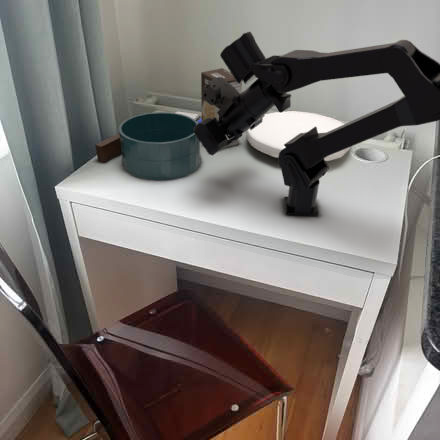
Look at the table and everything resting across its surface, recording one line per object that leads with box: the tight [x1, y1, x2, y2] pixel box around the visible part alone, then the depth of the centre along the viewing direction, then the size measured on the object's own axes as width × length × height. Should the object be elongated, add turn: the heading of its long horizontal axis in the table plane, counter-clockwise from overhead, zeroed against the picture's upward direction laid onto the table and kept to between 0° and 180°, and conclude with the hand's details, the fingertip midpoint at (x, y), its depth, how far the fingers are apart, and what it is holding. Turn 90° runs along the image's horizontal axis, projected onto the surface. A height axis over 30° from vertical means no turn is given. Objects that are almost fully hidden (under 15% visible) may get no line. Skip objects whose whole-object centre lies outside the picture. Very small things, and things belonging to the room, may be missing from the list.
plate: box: [245, 110, 351, 162], centre depth 114 cm, size 28×6×27 cm
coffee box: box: [200, 67, 243, 149], centre depth 112 cm, size 9×6×16 cm
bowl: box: [118, 111, 201, 181], centre depth 105 cm, size 18×18×8 cm
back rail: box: [95, 132, 122, 164], centre depth 111 cm, size 2×16×4 cm, turn 148°
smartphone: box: [174, 110, 200, 121], centre depth 125 cm, size 7×1×15 cm
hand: (206, 146), depth 98 cm, fingers closed
